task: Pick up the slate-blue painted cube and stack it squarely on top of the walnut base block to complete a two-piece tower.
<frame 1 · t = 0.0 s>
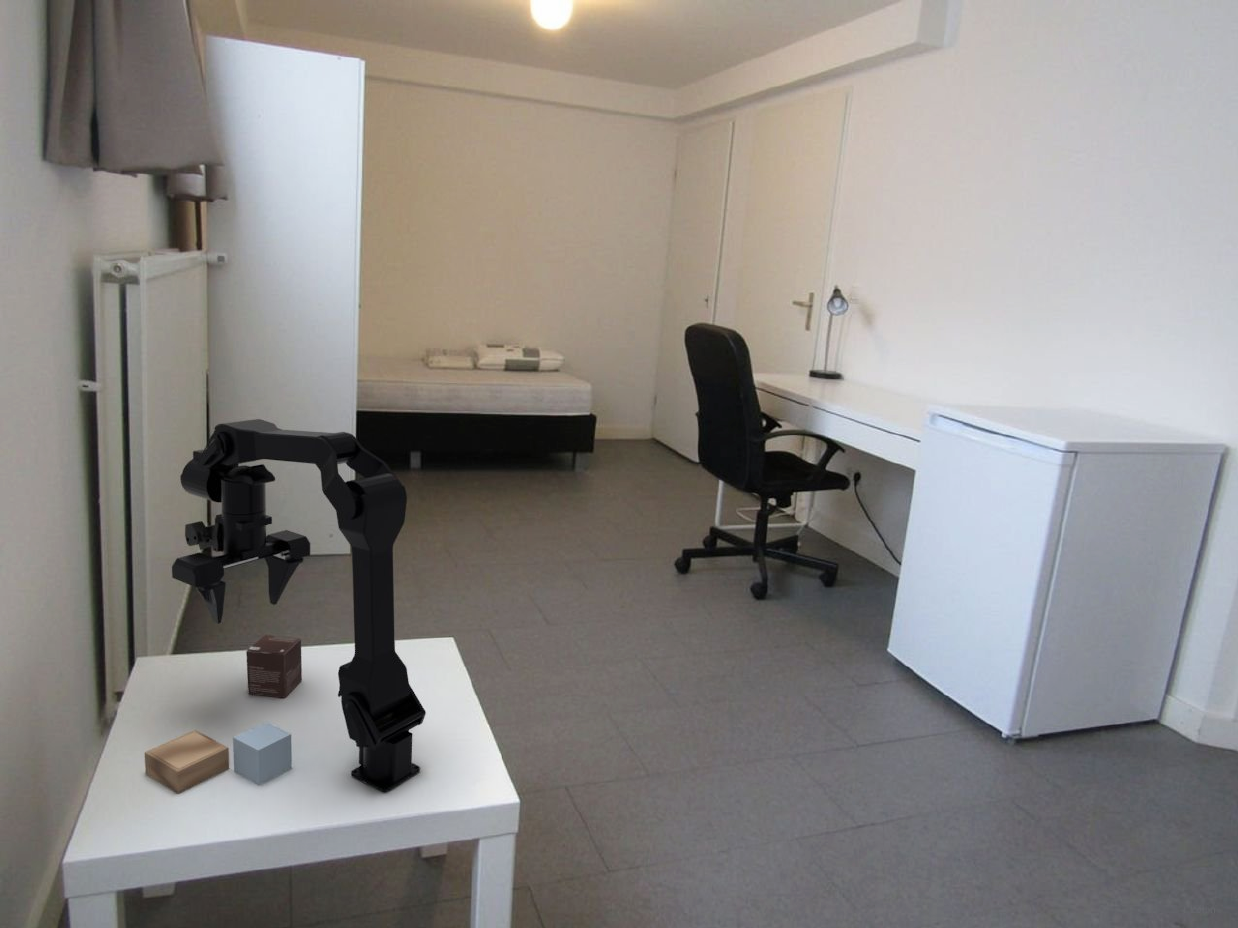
hand: (246, 613, 127), 15 cm above the table, fingers open, 9 cm apart
sprinkles bottle: (377, 725, 128), on the table
base block: (187, 770, 114), on the table
box: (275, 688, 136), on the table
blue cube: (263, 770, 115), on the table
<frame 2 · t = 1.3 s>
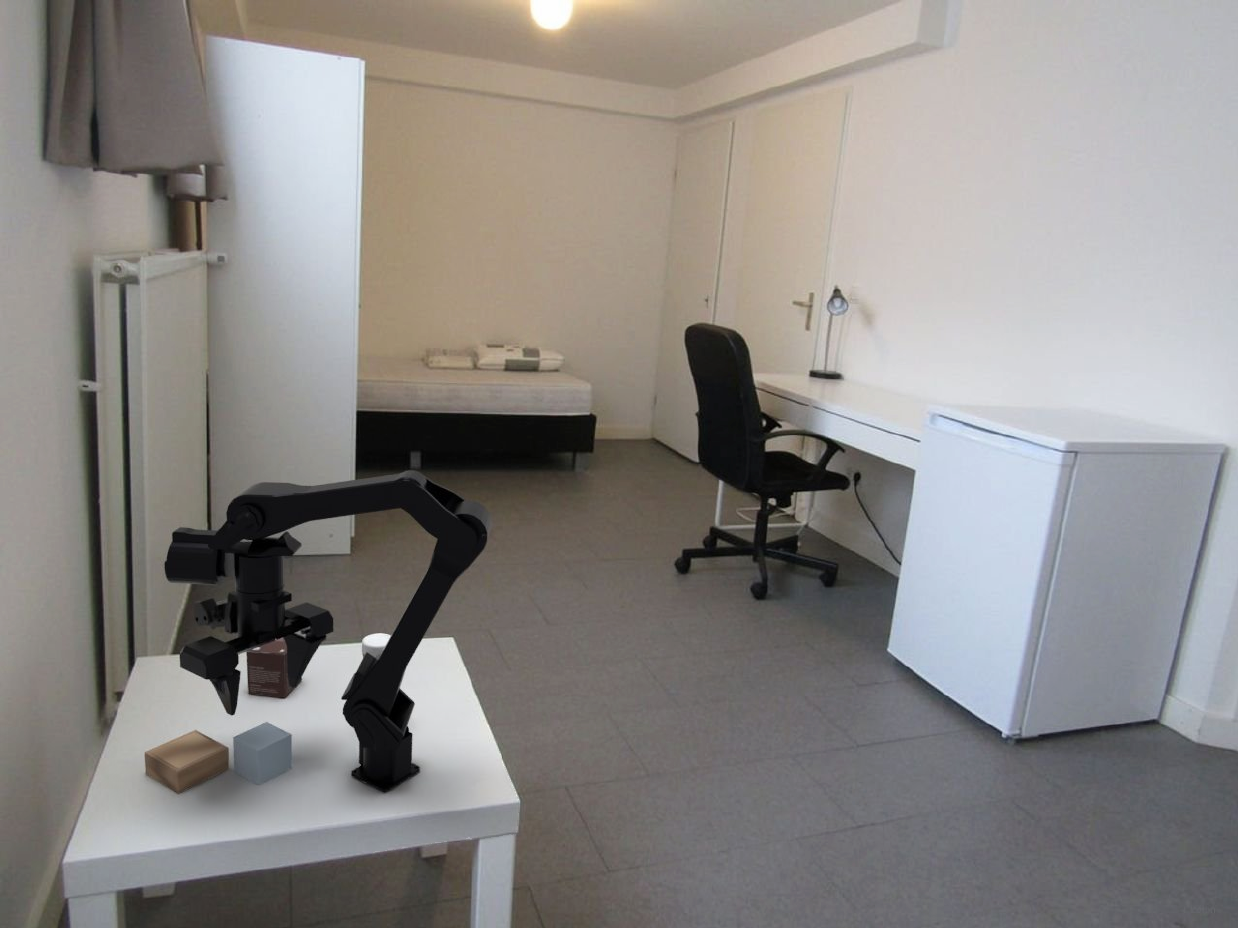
hand: (262, 699, 113), 10 cm above the table, fingers open, 9 cm apart
nothing on the table moved.
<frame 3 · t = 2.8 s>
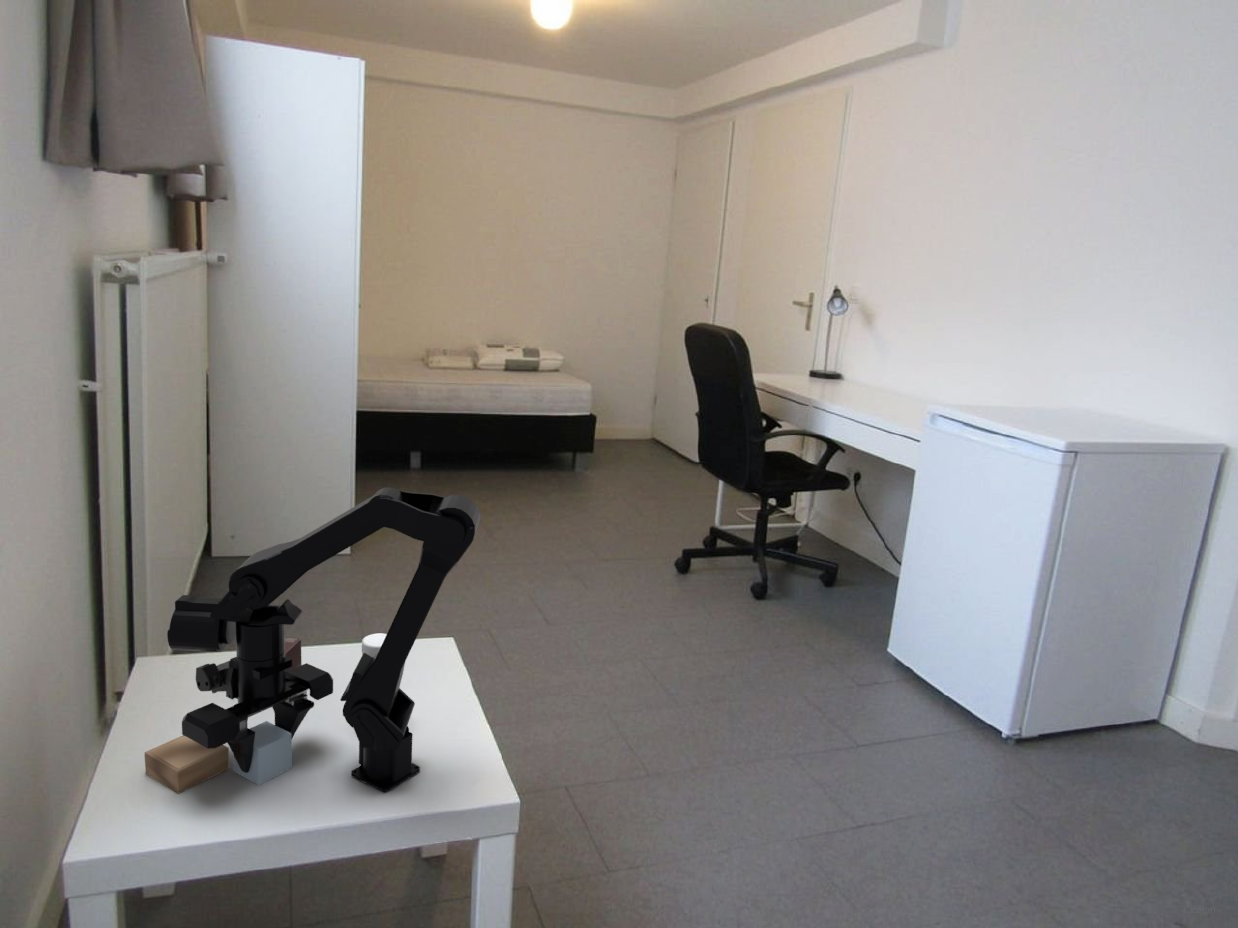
hand: (263, 762, 115), 1 cm above the table, fingers closed on blue cube, 5 cm apart
blue cube: (263, 769, 115), on the table, touching gripper
everything else where it was.
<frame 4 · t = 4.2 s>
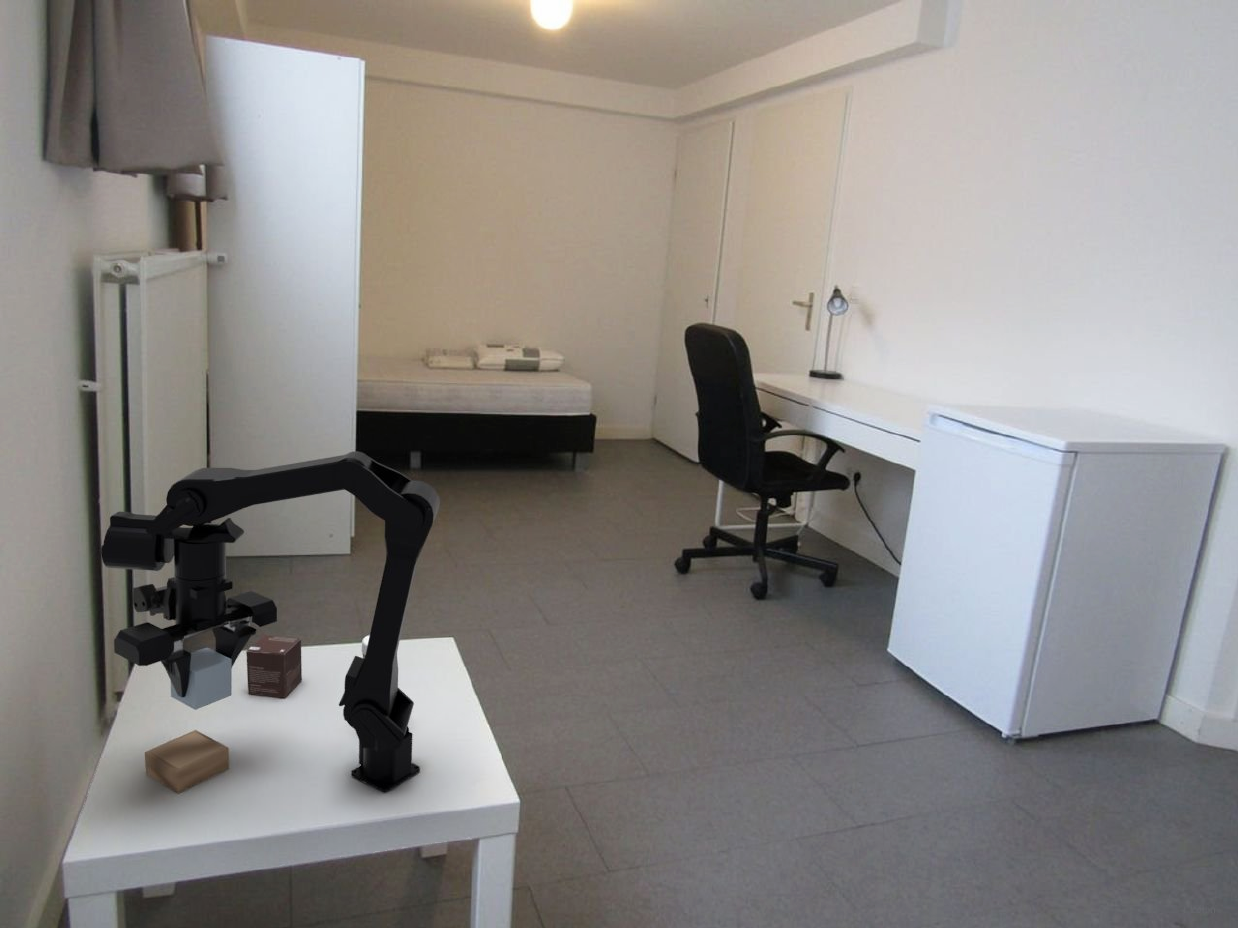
hand: (201, 688, 112), 12 cm above the table, fingers closed on blue cube, 5 cm apart
blue cube: (201, 695, 112), point 11 cm above the table, touching gripper
everything else where it was.
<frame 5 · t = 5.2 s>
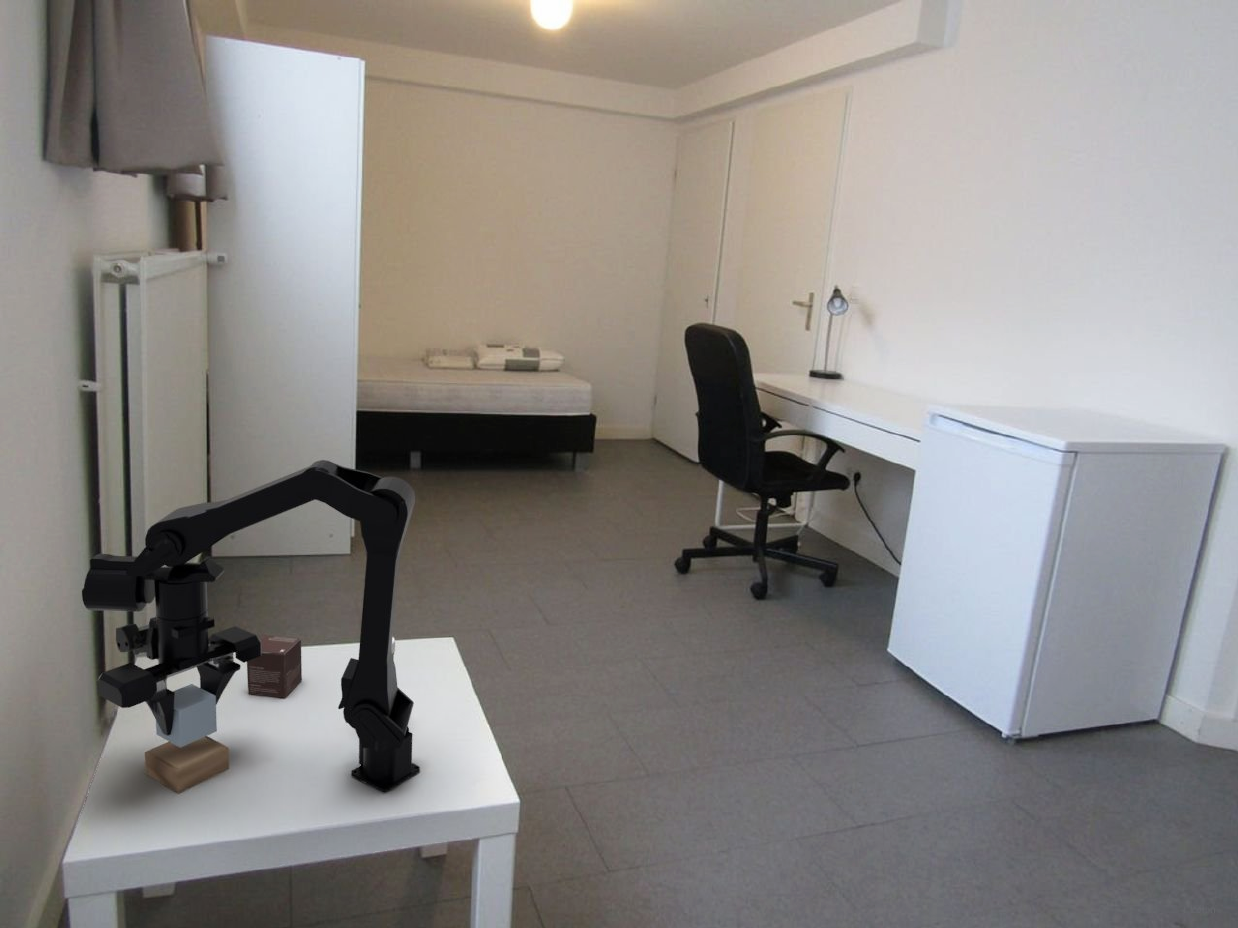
hand: (186, 725, 112), 6 cm above the table, fingers closed on blue cube, 5 cm apart
blue cube: (186, 732, 113), point 5 cm above the table, touching gripper
everything else where it was.
when the fingers open (5 cm above the table, at t = 5.9 s): blue cube stays where it is, resting on base block.
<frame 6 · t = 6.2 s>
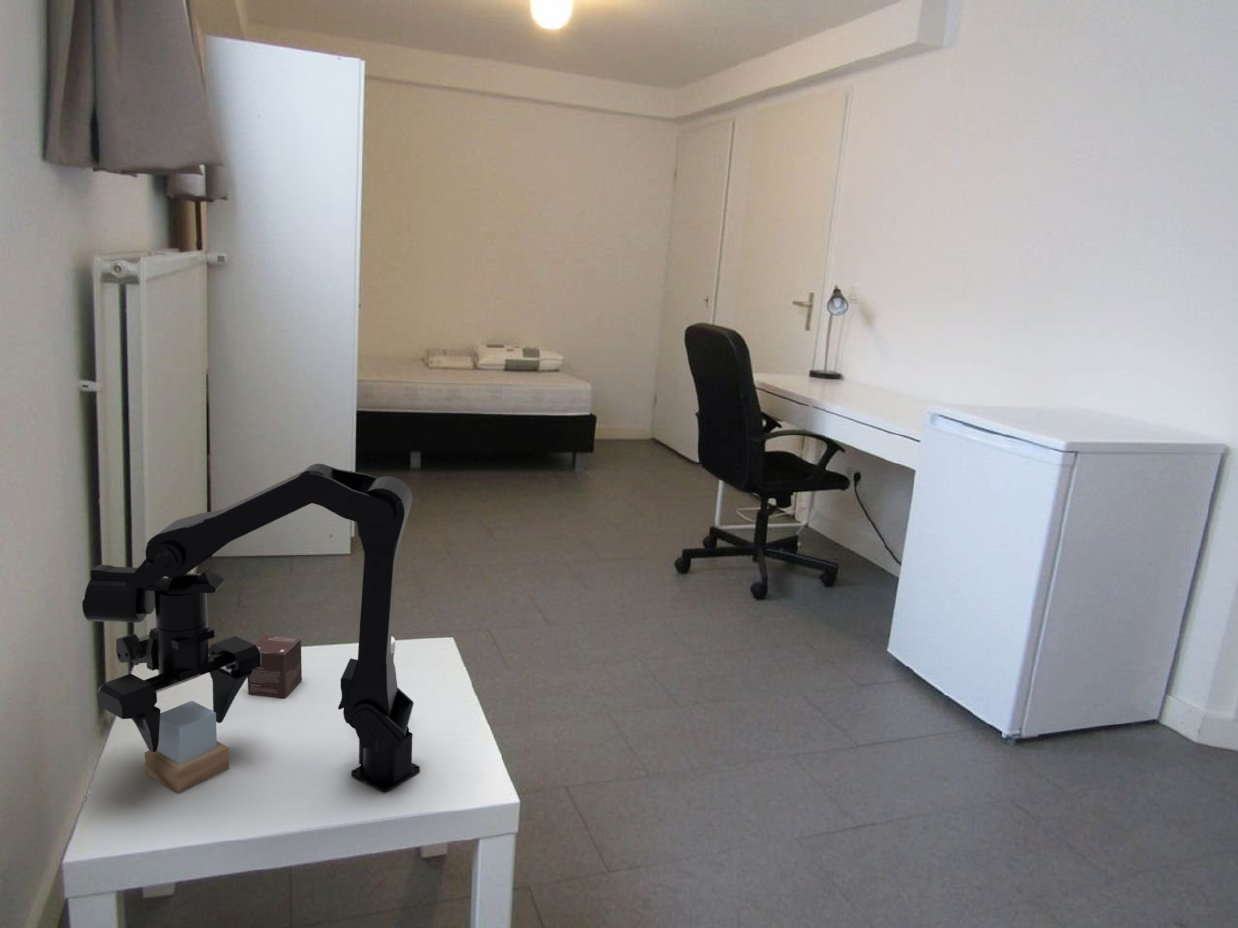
hand: (186, 735, 113), 5 cm above the table, fingers open, 9 cm apart
blue cube: (187, 749, 113), point 3 cm above the table, touching base block
everything else where it was.
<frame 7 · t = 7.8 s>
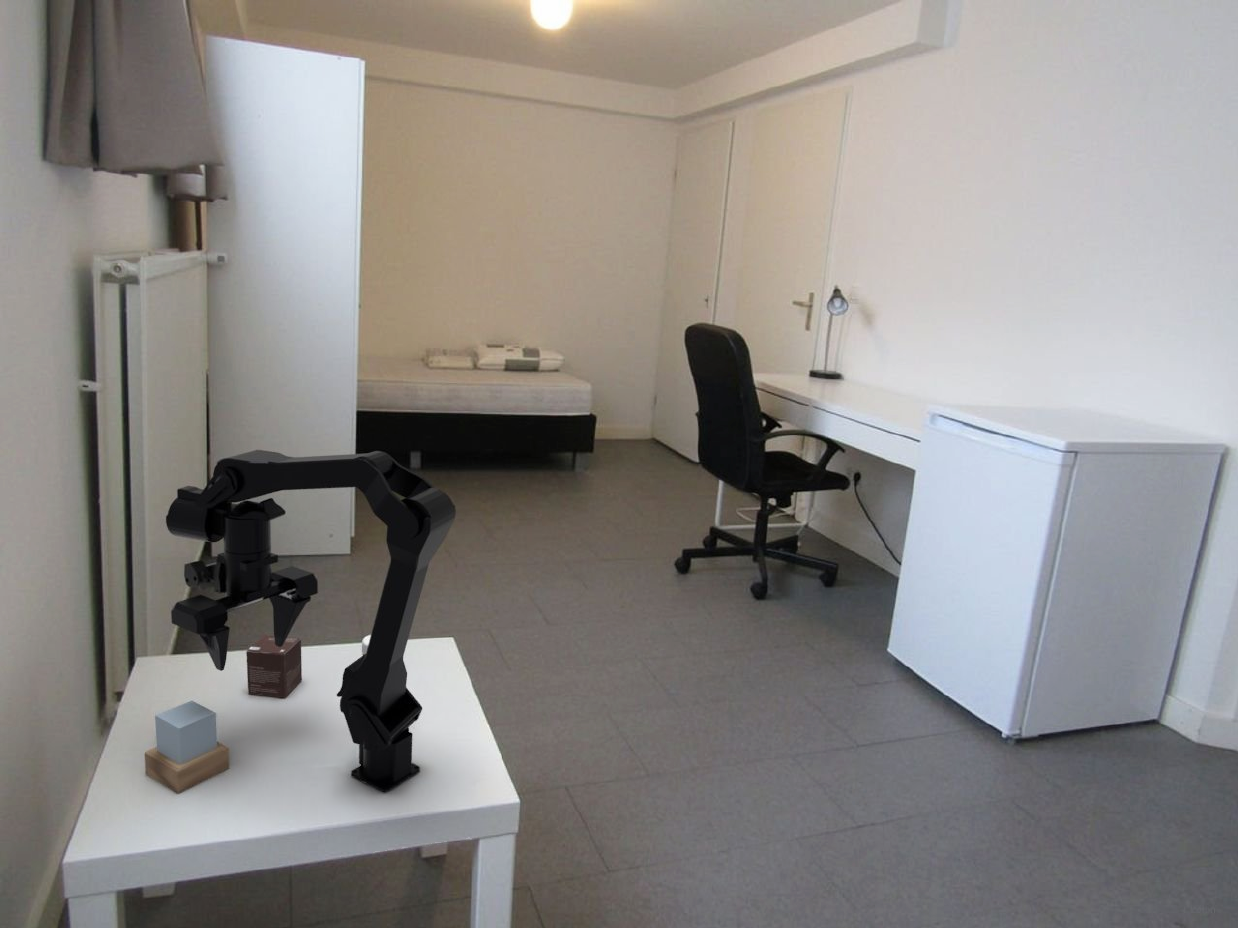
hand: (250, 657, 119), 12 cm above the table, fingers open, 9 cm apart
nothing on the table moved.
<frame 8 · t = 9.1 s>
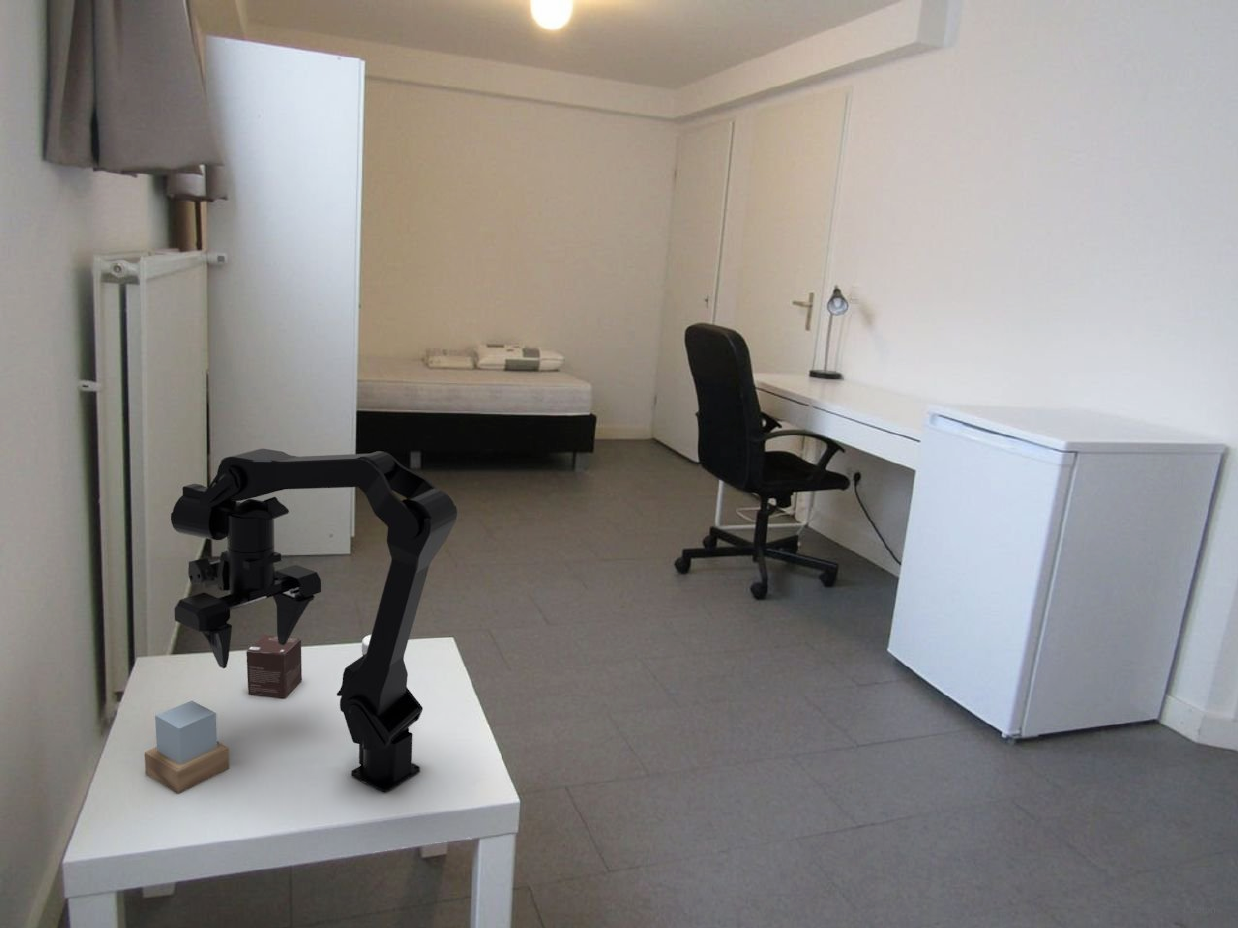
hand: (253, 655, 119), 13 cm above the table, fingers open, 9 cm apart
nothing on the table moved.
at the end: blue cube 0.0 cm off-centre on the base block, point 3.0 cm above the base block's base; blue cube tilted 0°; the gripper is holding nothing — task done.
